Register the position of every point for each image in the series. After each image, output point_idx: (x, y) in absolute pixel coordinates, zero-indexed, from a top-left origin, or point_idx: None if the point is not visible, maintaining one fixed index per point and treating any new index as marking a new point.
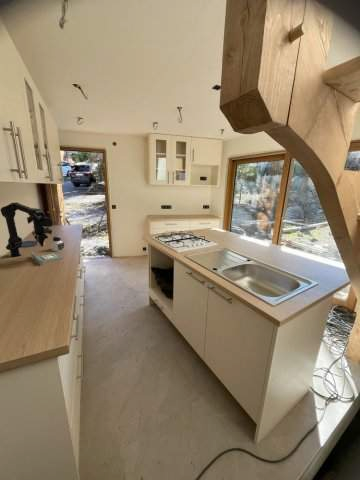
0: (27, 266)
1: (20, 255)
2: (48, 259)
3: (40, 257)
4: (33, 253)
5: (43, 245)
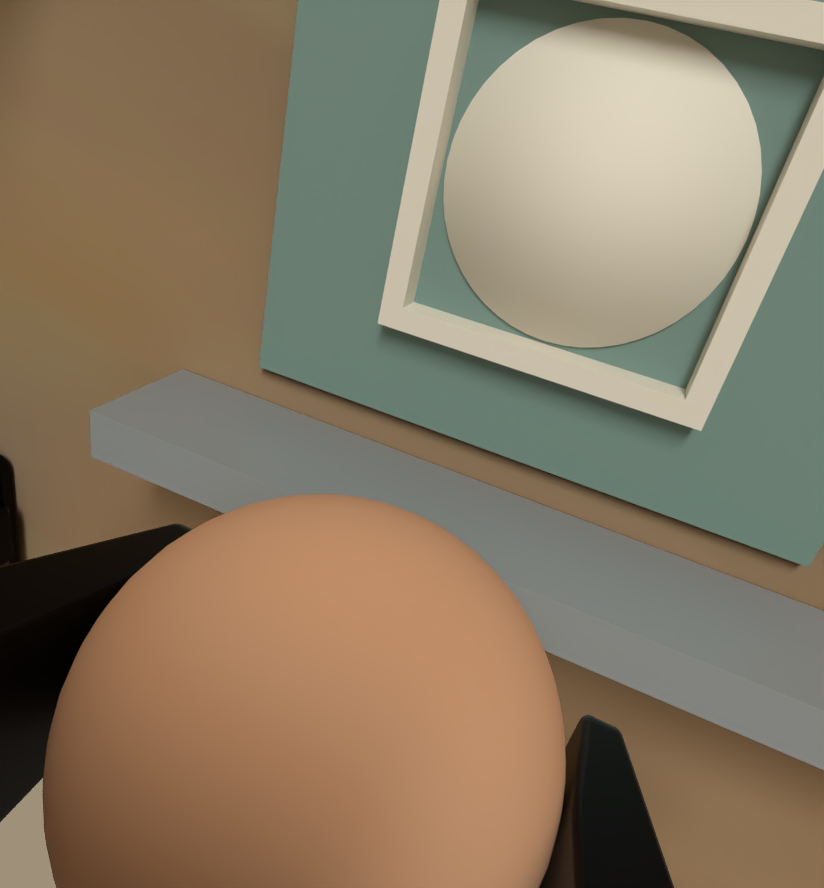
0: (695, 808)
1: (5, 471)
2: (769, 349)
3: (395, 356)
4: (235, 492)
5: (552, 674)
